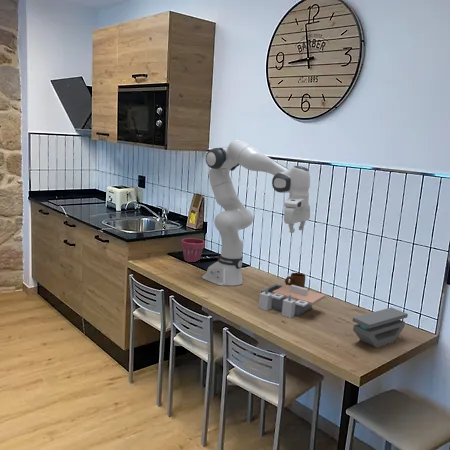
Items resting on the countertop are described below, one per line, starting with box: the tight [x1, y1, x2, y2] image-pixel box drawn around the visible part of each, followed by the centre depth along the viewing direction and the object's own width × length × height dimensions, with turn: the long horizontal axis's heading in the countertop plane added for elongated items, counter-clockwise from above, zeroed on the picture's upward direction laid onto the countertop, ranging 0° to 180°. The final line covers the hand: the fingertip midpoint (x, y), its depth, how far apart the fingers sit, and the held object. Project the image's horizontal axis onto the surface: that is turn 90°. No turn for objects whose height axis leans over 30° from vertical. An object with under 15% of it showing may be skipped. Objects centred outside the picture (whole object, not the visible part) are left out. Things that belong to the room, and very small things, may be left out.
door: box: [271, 284, 326, 307], centre depth 218 cm, size 20×18×4 cm
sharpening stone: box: [352, 307, 409, 348], centre depth 193 cm, size 25×8×11 cm, turn 126°
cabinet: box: [258, 283, 313, 319], centre depth 222 cm, size 20×18×9 cm
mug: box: [284, 272, 306, 288], centre depth 245 cm, size 12×8×9 cm, turn 123°
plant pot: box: [181, 237, 206, 263], centre depth 289 cm, size 14×14×13 cm
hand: (296, 231), depth 222 cm, fingers open, 8 cm apart
